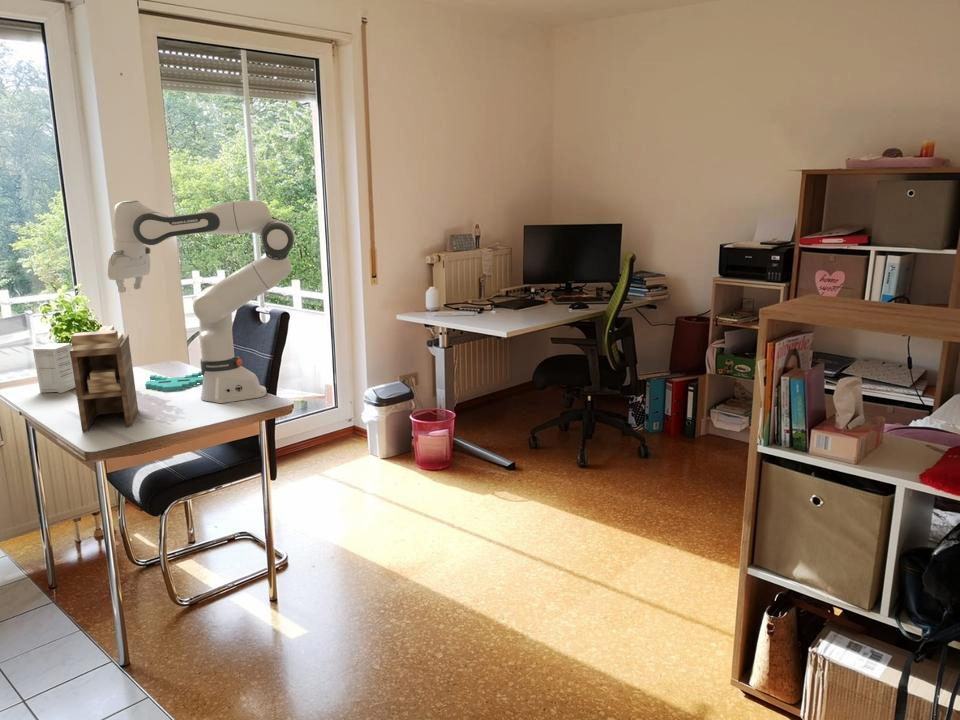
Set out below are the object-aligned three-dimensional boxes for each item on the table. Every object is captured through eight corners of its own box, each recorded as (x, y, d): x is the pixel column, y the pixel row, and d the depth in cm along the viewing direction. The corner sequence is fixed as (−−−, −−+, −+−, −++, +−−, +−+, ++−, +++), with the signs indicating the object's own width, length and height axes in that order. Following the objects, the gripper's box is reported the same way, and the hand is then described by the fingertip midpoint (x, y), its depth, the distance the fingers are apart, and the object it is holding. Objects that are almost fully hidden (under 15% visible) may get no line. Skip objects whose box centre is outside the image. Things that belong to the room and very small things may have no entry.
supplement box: (79, 386, 282) (72, 343, 278) (62, 393, 273) (55, 348, 269) (56, 385, 283) (49, 342, 279) (39, 392, 275) (31, 348, 270)
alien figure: (151, 380, 290) (143, 394, 271) (150, 375, 290) (142, 389, 271) (205, 376, 295) (201, 389, 277) (204, 371, 295) (200, 384, 276)
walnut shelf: (138, 409, 253) (128, 334, 246) (131, 427, 234) (120, 347, 228) (92, 413, 248) (81, 337, 242) (82, 432, 230) (69, 351, 224)
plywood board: (128, 330, 253) (126, 317, 252) (116, 347, 228) (114, 333, 226) (89, 332, 250) (87, 319, 249) (73, 350, 224) (71, 336, 223)
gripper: (120, 252, 238) (121, 295, 241) (153, 248, 258) (154, 288, 261) (101, 251, 238) (103, 293, 241) (136, 246, 258) (136, 286, 261)
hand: (129, 290), depth 251 cm, fingers open, 8 cm apart
